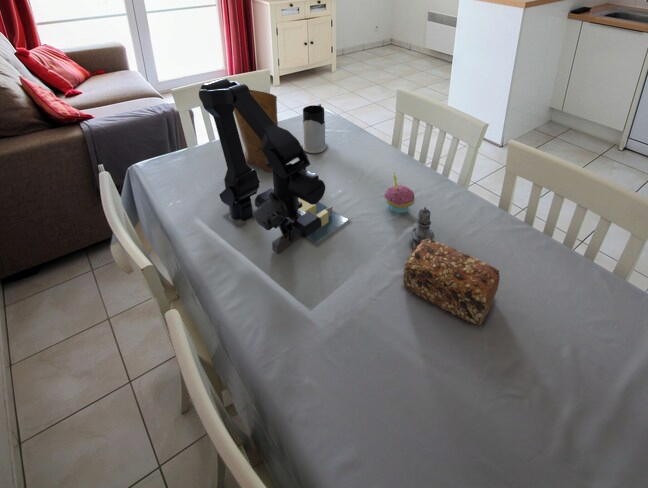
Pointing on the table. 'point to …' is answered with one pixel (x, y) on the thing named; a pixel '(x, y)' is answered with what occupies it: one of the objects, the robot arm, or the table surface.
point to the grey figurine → (422, 228)
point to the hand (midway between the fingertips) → (288, 238)
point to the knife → (288, 238)
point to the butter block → (307, 207)
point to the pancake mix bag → (248, 135)
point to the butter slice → (323, 217)
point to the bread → (451, 280)
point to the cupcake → (399, 197)
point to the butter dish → (332, 224)
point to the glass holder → (314, 129)
